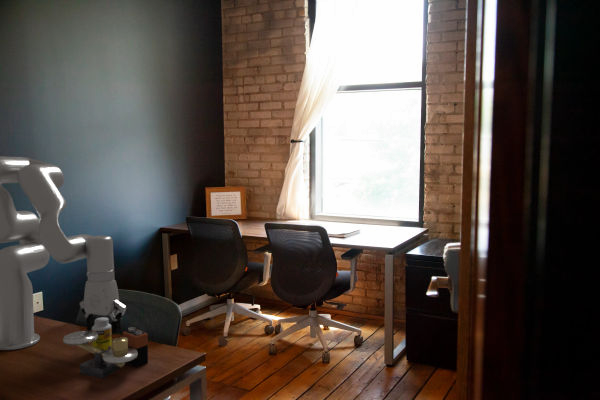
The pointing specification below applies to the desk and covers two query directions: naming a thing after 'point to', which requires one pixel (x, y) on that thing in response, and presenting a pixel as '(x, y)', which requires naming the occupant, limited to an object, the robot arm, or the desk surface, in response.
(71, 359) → the desk surface
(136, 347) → the battery
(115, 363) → the balance
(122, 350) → the brass weight
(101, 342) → the supplement bottle
